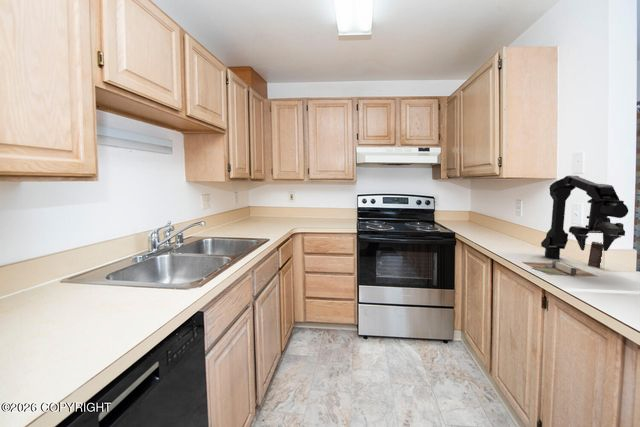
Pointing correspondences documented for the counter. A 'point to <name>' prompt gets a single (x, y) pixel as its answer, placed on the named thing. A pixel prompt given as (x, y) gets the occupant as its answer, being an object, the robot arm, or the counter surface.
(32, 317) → the counter surface
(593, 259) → the box
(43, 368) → the counter surface
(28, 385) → the counter surface
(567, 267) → the dial lever
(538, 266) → the dial board
